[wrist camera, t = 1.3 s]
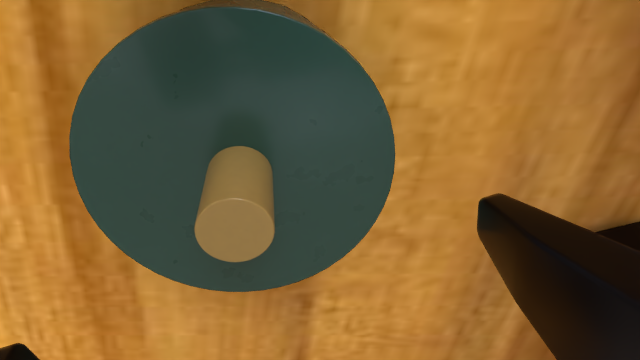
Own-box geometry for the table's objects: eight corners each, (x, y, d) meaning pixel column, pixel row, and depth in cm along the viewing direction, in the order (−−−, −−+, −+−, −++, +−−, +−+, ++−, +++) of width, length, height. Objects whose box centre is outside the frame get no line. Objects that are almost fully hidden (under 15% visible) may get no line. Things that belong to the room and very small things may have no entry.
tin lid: (404, 240, 20) (438, 319, 16) (155, 300, 21) (129, 392, 16) (363, -38, 14) (402, -23, 10) (13, 49, 15) (-83, 96, 11)
